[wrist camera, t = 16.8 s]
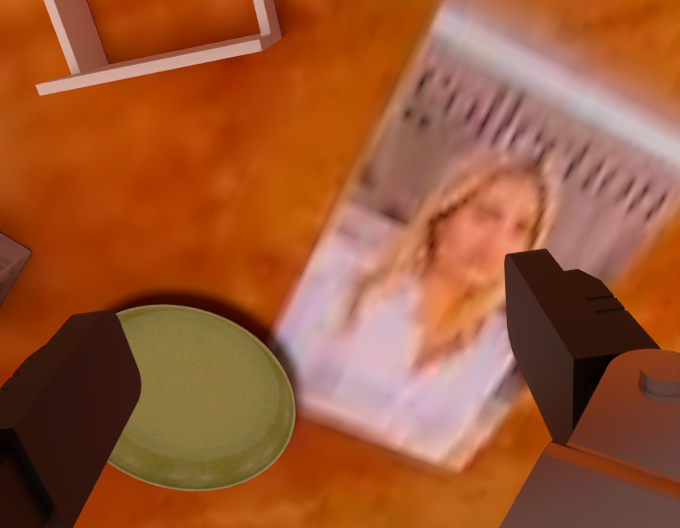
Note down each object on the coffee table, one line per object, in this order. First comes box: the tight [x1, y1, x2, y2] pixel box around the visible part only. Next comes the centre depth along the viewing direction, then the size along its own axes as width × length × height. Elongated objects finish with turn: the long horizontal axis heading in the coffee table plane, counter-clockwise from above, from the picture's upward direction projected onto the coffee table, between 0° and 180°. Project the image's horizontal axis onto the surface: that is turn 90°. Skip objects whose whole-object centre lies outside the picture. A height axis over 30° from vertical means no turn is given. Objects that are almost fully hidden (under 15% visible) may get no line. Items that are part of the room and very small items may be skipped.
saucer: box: [107, 304, 296, 491], centre depth 51 cm, size 21×21×3 cm
